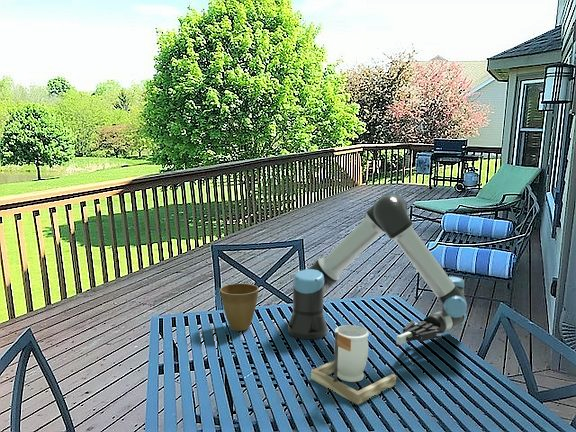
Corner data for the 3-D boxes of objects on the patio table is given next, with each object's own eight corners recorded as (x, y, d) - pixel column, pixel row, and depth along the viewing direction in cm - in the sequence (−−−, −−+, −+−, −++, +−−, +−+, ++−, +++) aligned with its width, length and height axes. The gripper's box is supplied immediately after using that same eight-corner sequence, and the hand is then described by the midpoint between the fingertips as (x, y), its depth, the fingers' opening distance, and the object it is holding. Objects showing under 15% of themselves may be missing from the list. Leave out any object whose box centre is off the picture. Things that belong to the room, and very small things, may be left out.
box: (348, 362, 157) (350, 311, 154) (395, 384, 143) (398, 328, 140) (311, 379, 146) (312, 323, 143) (357, 405, 132) (360, 344, 129)
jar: (372, 374, 149) (374, 329, 147) (357, 388, 141) (359, 340, 139) (343, 365, 155) (345, 321, 153) (327, 377, 147) (328, 331, 145)
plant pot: (265, 324, 189) (265, 285, 187) (246, 337, 176) (246, 296, 174) (233, 318, 195) (233, 280, 193) (213, 330, 182) (212, 290, 180)
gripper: (452, 339, 169) (414, 357, 154) (421, 328, 179) (382, 344, 163) (454, 319, 168) (415, 336, 152) (422, 309, 177) (383, 324, 162)
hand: (398, 340), depth 158 cm, fingers closed
